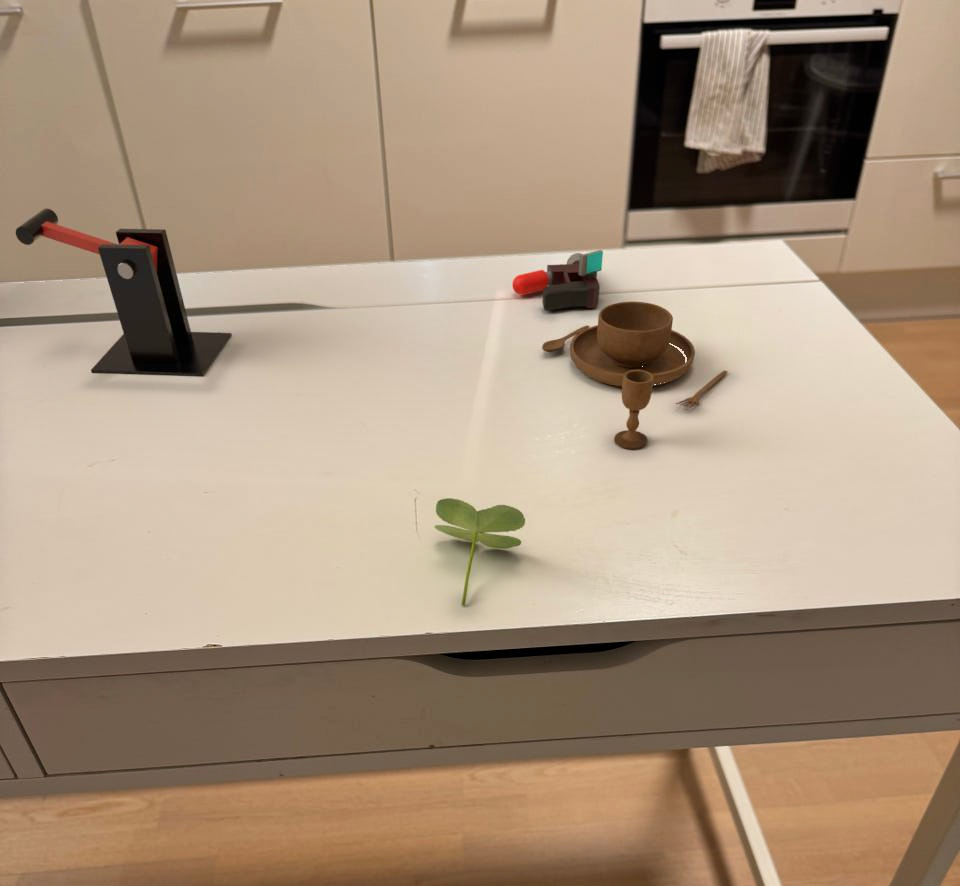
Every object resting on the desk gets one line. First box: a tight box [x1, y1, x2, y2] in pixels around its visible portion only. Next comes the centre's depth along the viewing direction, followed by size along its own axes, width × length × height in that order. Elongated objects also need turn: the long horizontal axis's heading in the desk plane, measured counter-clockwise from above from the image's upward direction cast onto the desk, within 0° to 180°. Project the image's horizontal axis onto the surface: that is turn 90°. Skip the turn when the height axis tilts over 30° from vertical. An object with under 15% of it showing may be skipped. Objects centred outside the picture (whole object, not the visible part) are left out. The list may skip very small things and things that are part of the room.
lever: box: [15, 207, 158, 272], centre depth 79 cm, size 11×5×2 cm, turn 85°
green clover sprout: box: [434, 497, 526, 607], centre depth 60 cm, size 7×8×7 cm
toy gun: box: [512, 249, 604, 312], centre depth 96 cm, size 10×12×5 cm
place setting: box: [541, 301, 728, 450], centre depth 80 cm, size 18×20×6 cm
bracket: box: [90, 228, 232, 378], centre depth 82 cm, size 11×9×12 cm
